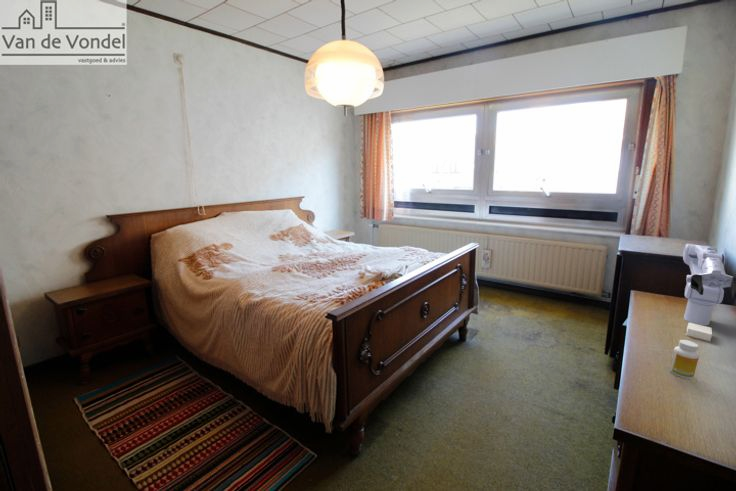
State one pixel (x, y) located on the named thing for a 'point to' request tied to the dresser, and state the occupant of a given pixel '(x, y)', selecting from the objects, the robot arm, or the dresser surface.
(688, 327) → the cream tile
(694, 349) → the supplement bottle
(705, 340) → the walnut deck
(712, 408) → the dresser surface
